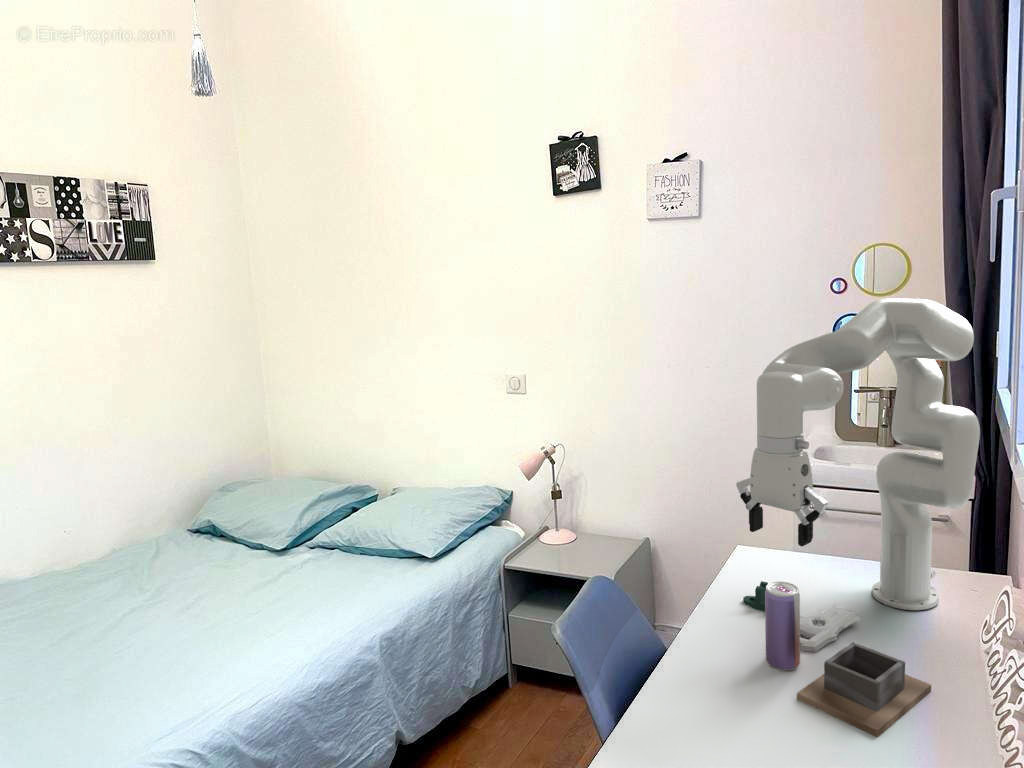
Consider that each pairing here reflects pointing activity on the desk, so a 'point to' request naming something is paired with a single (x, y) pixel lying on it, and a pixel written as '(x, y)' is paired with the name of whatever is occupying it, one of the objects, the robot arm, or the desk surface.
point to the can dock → (864, 689)
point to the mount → (757, 597)
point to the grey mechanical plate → (824, 627)
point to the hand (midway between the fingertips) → (779, 536)
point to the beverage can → (782, 625)
